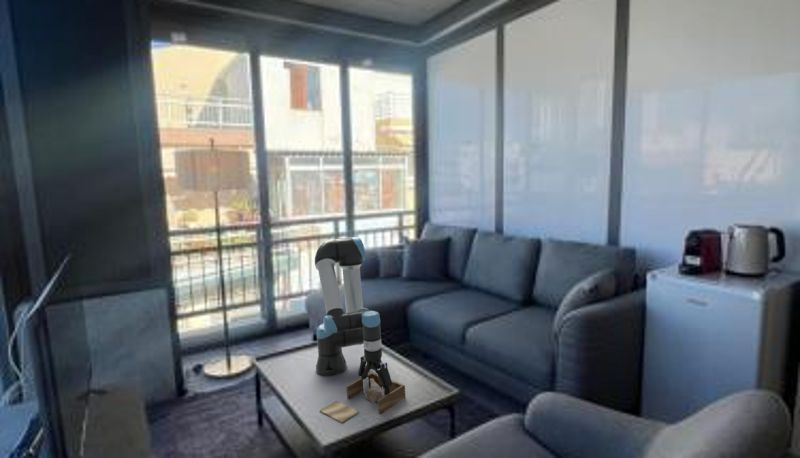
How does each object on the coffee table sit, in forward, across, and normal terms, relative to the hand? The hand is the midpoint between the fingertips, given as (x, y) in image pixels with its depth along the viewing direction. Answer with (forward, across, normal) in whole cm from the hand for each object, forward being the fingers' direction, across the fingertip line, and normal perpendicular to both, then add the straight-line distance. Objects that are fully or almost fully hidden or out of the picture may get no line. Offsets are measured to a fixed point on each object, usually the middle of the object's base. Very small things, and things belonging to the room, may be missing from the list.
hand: (375, 396), depth 190 cm
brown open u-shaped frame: (+1, 0, 0) cm, 1 cm away
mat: (+1, -5, -16) cm, 17 cm away
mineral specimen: (+1, -1, 0) cm, 2 cm away
